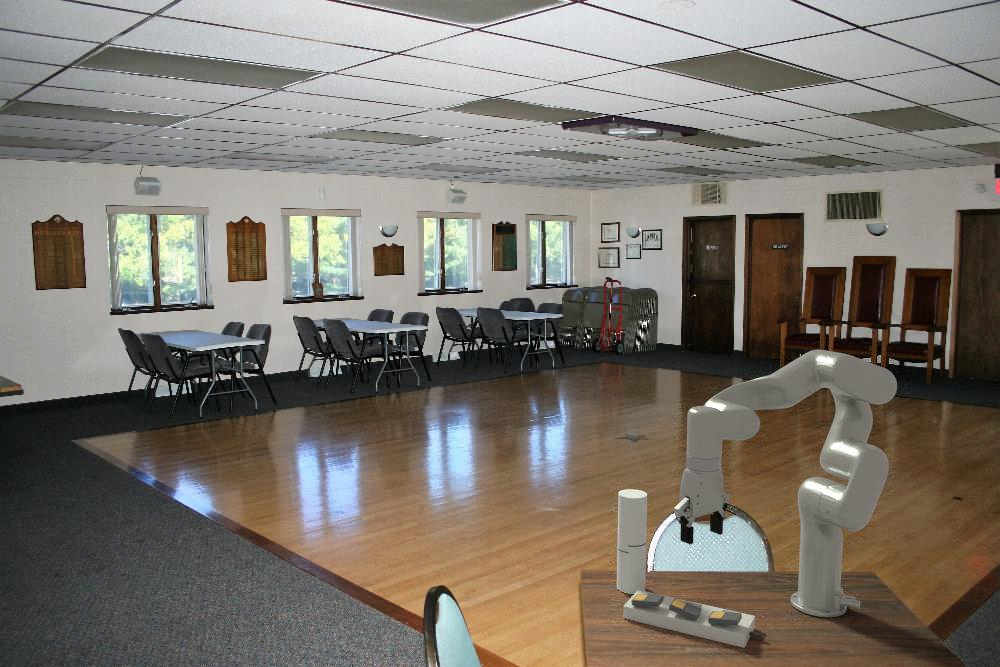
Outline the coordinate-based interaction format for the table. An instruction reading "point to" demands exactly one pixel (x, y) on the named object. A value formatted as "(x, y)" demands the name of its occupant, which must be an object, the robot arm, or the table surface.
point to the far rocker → (647, 600)
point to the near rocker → (725, 618)
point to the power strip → (692, 621)
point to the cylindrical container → (631, 540)
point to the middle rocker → (685, 609)
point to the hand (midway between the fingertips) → (701, 537)
